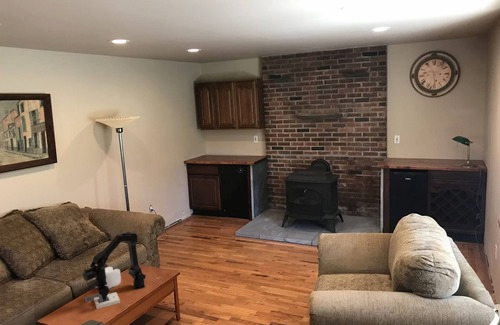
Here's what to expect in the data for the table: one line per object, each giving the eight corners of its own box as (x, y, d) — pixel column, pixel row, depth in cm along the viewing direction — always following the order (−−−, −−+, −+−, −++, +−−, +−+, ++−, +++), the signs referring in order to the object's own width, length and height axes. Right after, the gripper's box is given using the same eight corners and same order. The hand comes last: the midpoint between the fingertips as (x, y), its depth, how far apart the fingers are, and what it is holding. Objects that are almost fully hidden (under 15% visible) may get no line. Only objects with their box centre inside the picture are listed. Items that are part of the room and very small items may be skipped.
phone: (84, 298, 262) (84, 297, 262) (107, 293, 269) (106, 291, 268) (85, 303, 256) (85, 301, 256) (108, 297, 262) (108, 296, 262)
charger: (106, 299, 258) (105, 291, 257) (107, 302, 254) (106, 293, 253) (99, 301, 256) (98, 292, 255) (100, 304, 252) (99, 295, 251)
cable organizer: (102, 292, 269) (100, 276, 267) (93, 288, 275) (91, 272, 273) (121, 284, 281) (120, 268, 279) (112, 280, 287) (110, 265, 285)
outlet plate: (116, 295, 264) (116, 292, 264) (120, 302, 254) (119, 299, 254) (94, 300, 258) (93, 297, 258) (96, 308, 247) (96, 305, 247)
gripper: (85, 272, 256) (87, 295, 259) (89, 283, 240) (91, 307, 243) (103, 268, 262) (105, 291, 264) (108, 279, 245) (110, 303, 248)
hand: (103, 298), depth 254 cm, fingers open, 9 cm apart
